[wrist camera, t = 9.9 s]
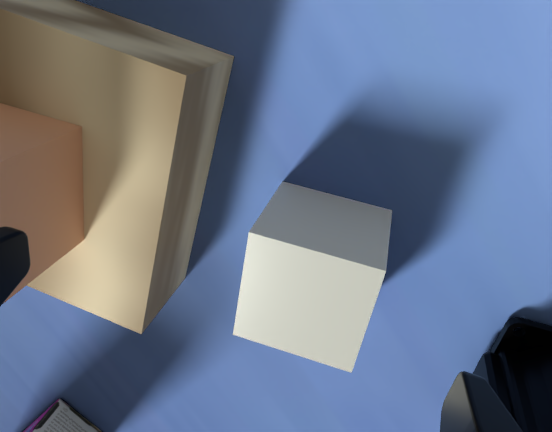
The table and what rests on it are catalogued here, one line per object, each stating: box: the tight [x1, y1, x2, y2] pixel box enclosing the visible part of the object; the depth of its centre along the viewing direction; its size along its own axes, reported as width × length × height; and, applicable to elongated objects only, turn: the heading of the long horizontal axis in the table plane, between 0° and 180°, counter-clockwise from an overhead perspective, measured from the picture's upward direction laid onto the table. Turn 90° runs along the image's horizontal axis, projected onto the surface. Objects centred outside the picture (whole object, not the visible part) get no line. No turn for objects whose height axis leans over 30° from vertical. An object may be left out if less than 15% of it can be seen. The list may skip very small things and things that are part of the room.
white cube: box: [233, 181, 392, 373], centre depth 20 cm, size 5×5×5 cm
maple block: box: [0, 0, 234, 334], centre depth 21 cm, size 12×12×5 cm
